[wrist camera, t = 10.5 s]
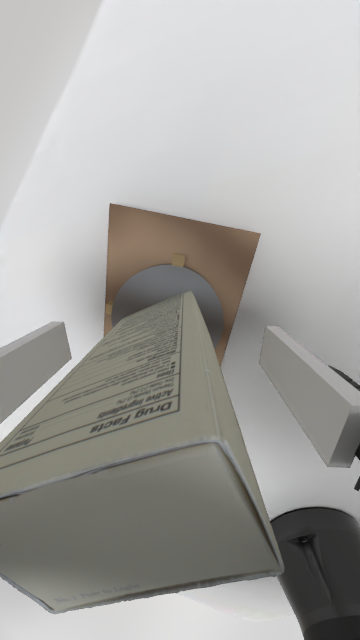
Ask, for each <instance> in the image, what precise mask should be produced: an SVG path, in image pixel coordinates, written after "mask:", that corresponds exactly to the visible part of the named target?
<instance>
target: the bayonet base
mask: <svg viewBox="0 0 360 640" xmlns="http://www.w3.org/2000/svg"><path fill="white" fill-rule="evenodd" d="M260 235H261V234H260V233H255V232H250V231H245V230H240V229H235V228H230V227H225V226H220V225H215V224H210V223H205V222H200V221H195V220H190V219H185V218H180V217H176V216H171V215H166V214H161V213H156V212H151V211H146V210H141V209H136V208H131V207H126V206H121V205H116V204H111V203H110V207H109V230H108V252H107V275H106V297H105V320H104V337H105V336H106V335H107V334H108V333H109V332H110V331H111V330H112V329H113V328H114V327H115V326H116V325H117V324H118V323H119V322H120V320H122V319H123V318H125V317H127V316H130V315H132V314H134V313H136V312H139V311H141V310H143V309H145V308H148V307H150V306H153V305H155V304H157V303H160V302H162V301H165V300H167V299H170V298H172V297H175V296H177V295H180V294H182V293H185V292H187V291H192V293H193V294H194V297H195V299H196V301H197V304H198V306H199V309H200V311H201V314H202V316H203V319H204V321H205V324H206V326H207V329H208V332H209V334H210V337H211V340H212V343H213V346H214V349H215V353H216V356H217V359H218V362H219V365H220V366H221V363H222V359H223V356H224V353H225V350H226V346H227V343H228V340H229V336H230V333H231V330H232V327H233V323H234V320H235V317H236V313H237V310H238V307H239V304H240V300H241V297H242V294H243V290H244V287H245V284H246V281H247V277H248V274H249V271H250V267H251V264H252V261H253V258H254V254H255V251H256V248H257V244H258V241H259V238H260Z"/></svg>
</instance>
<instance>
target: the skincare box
mask: <svg viewBox="0 0 360 640" xmlns="http://www.w3.org/2000/svg"><path fill="white" fill-rule="evenodd" d="M283 572H284V564H283V560H282V557H281V554H280V551H279V548H278V545H277V542H276V539H275V536H274V533H273V530H272V526H271V523H270V520H269V517H268V514H267V511H266V508H265V505H264V502H263V499H262V496H261V493H260V489H259V486H258V483H257V480H256V477H255V474H254V471H253V468H252V465H251V462H250V459H249V456H248V453H247V450H246V447H245V443H244V440H243V437H242V434H241V430H240V427H239V424H238V421H237V418H236V415H235V412H234V409H233V406H232V403H231V400H230V396H229V393H228V390H227V387H226V384H225V381H224V378H223V375H222V372H221V369H220V365H219V362H218V359H217V356H216V353H215V349H214V346H213V343H212V340H211V337H210V334H209V332H208V329H207V326H206V324H205V321H204V319H203V316H202V314H201V311H200V309H199V306H198V304H197V301H196V299H195V297H194V294H193V293H192V291H187V292H185V293H182V294H180V295H177V296H175V297H172V298H170V299H167V300H165V301H162V302H160V303H157V304H155V305H153V306H150V307H148V308H145V309H143V310H141V311H139V312H136V313H134V314H132V315H130V316H127V317H125V318H123V319H122V320H120V322H119V323H118V324H117V325H116V326H115V327H114V328H113V329H112V330H111V331H110V332H109V333H108V334H107V335H106V336H105V337H104V338H103V339H102V340H101V341H100V342H99V343H98V344H97V345H96V346H95V347H94V348H93V349H92V350H91V351H90V352H89V353H88V354H87V355H86V356H85V357H84V358H83V359H82V360H81V361H80V362H79V363H78V364H77V365H76V366H75V367H74V368H73V369H72V370H71V371H70V372H69V373H68V374H67V375H66V376H65V377H64V379H63V380H62V381H61V382H60V383H59V384H58V385H57V386H56V387H55V388H54V389H53V390H52V391H51V392H50V393H49V394H48V395H47V396H46V397H45V398H44V399H43V400H42V401H41V402H40V403H39V404H38V405H37V406H36V407H35V408H34V409H33V410H32V411H31V412H30V413H29V414H28V415H27V416H26V417H25V418H24V419H23V420H22V421H21V422H20V423H19V424H18V425H17V426H16V427H15V428H14V430H13V431H12V432H11V433H10V434H9V435H8V436H7V437H6V438H5V439H4V440H3V441H2V442H1V443H0V577H1V578H2V579H3V580H5V581H7V582H8V583H9V584H11V585H12V586H13V587H14V588H16V589H18V591H20V592H22V593H23V594H25V595H27V596H28V597H30V598H31V599H33V600H34V601H35V602H37V603H38V604H39V605H41V606H42V607H43V608H44V609H45V610H47V611H48V612H50V613H52V614H58V613H64V612H67V611H72V610H78V609H84V608H91V607H95V606H101V605H108V604H113V603H116V602H117V603H118V602H121V601H127V600H128V601H131V600H135V599H140V598H149V597H153V596H157V595H163V594H170V593H178V592H180V591H186V590H191V589H197V588H206V587H212V586H216V585H220V584H225V583H231V582H237V581H243V580H255V579H259V578H263V577H269V576H276V575H281V574H282V573H283Z"/></svg>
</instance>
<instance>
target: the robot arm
mask: <svg viewBox="0 0 360 640" xmlns="http://www.w3.org/2000/svg"><path fill="white" fill-rule="evenodd" d="M71 359H72V357H71V353H70V348H69V343H68V339H67V334H66V330H65V325H64V322H51V323H49V324H47V325H45V326H43V327H41V328H39V329H37V330H35V331H33V332H31V333H29V334H27V335H25V336H24V337H22V338H20V339H18V340H16V341H14V342H12V343H10V344H8V345H6V346H4V347H2V348H0V424H1V423H2V422H3V421H4V420H5V419H6V418H7V417H8V416H9V415H11V414H12V413H13V412H14V411H15V410H16V409H17V408H18V407H19V406H20V405H21V404H23V403H24V402H25V401H26V400H27V399H28V398H29V397H30V396H31V395H32V394H33V393H35V392H36V391H37V390H38V389H39V388H40V387H41V386H42V385H43V384H44V383H45V382H47V381H48V380H49V379H50V378H51V377H52V376H53V375H54V374H55V373H56V372H57V371H59V370H60V369H61V368H62V367H63V366H64V365H65V364H66V363H67V362H68V361H69V360H71ZM259 364H260V365H261V367H262V368H263V370H264V371H265V373H266V374H267V376H268V377H269V379H270V380H271V382H272V383H273V385H274V386H275V388H276V389H277V391H278V392H279V394H280V395H281V397H282V399H283V400H284V402H285V403H286V405H287V406H288V408H289V409H290V411H291V412H292V414H293V415H294V417H295V418H296V420H297V421H298V423H299V424H300V426H301V427H302V429H303V430H304V432H305V433H306V435H307V437H308V438H309V440H310V441H311V443H312V444H313V446H314V447H315V449H316V450H317V452H318V453H319V455H320V456H321V458H322V459H323V461H324V462H325V464H326V465H327V467H344V468H350V466H351V464H352V462H353V459H354V457H355V455H356V456H357V458H358V459H359V460H360V385H358V384H357V383H356V382H353V380H352V379H351V378H349V377H348V376H347V375H345V374H344V373H343V372H341V371H339V370H337V369H335V368H333V367H331V366H327V365H326V364H325V363H323V362H322V361H321V360H320V359H318V358H317V357H316V356H315V355H313V354H312V353H311V352H310V351H308V350H307V349H306V348H305V347H303V346H302V345H301V344H300V343H298V342H297V341H296V340H295V339H294V338H292V337H291V336H290V335H289V334H287V333H286V332H285V331H284V330H282V329H281V328H280V327H279V326H265V332H264V338H263V343H262V349H261V355H260V361H259ZM354 489H355V490H357V491H359V489H360V477H359V479H358V481H357V483H356V485H355V488H354ZM271 526H272V530H273V533H274V536H275V539H276V542H277V545H278V548H279V551H280V554H281V557H282V560H283V564H284V572H283V573H282V574H281V575H276V576H277V578H278V580H279V582H280V584H281V586H282V588H283V590H284V592H285V594H286V597H287V599H288V601H289V603H290V605H291V607H292V609H293V611H294V613H295V615H296V617H297V619H298V622H299V624H300V627H301V630H302V633H303V637H304V640H360V527H359V525H358V524H357V522H356V521H355V520H354V519H353V518H352V517H351V516H349V515H347V514H345V513H343V512H340V511H336V510H331V509H320V508H318V509H304V510H299V511H295V512H291V513H288V514H285V515H283V516H281V517H279V518H277V519H276V520H274V521H273V522H271Z"/></svg>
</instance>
